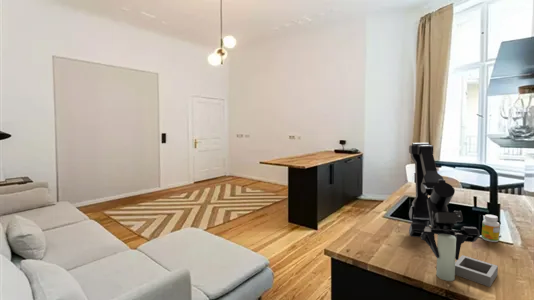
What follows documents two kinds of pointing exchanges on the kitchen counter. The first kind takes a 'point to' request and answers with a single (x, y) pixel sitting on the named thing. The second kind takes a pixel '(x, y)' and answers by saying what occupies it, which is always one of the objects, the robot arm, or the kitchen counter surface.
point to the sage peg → (446, 257)
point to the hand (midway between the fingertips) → (447, 258)
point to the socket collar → (475, 275)
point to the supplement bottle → (490, 228)
